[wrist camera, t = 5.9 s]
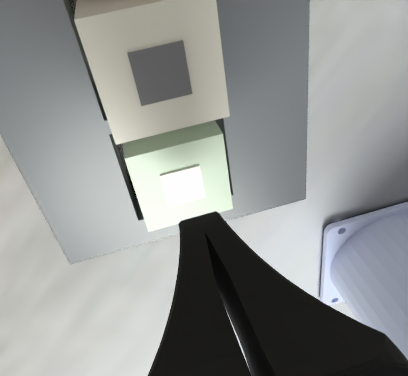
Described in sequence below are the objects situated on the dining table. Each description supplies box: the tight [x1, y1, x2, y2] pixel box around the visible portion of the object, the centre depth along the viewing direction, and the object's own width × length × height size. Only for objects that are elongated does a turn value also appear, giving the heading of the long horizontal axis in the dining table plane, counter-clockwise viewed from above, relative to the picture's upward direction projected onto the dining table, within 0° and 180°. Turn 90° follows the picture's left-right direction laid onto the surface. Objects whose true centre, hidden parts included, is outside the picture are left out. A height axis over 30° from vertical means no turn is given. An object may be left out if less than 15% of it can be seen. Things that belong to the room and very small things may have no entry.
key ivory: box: [74, 0, 230, 145], centre depth 12 cm, size 4×4×3 cm
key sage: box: [122, 120, 233, 232], centre depth 17 cm, size 4×4×3 cm
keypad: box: [0, 0, 310, 264], centre depth 14 cm, size 12×18×2 cm, turn 10°
